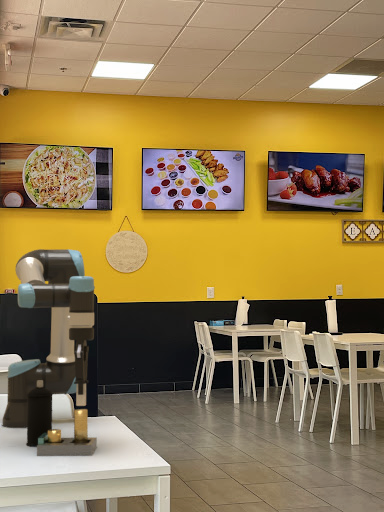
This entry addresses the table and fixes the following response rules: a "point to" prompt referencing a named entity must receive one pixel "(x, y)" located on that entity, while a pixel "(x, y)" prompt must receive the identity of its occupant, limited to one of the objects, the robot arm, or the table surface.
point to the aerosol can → (38, 413)
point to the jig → (63, 445)
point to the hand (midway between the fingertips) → (81, 405)
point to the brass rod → (80, 426)
